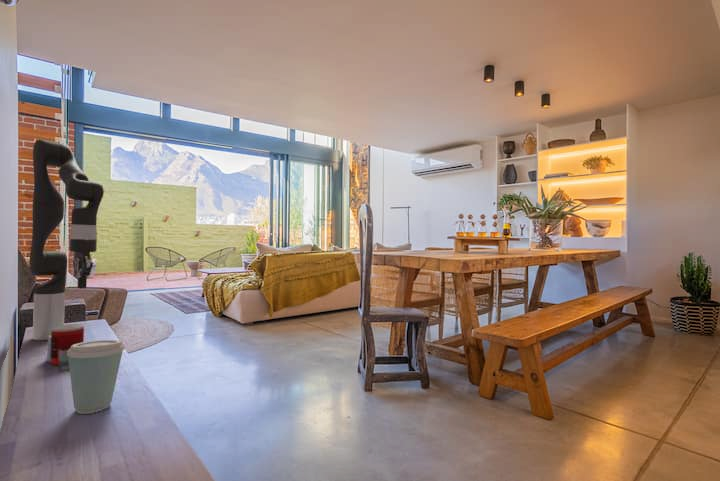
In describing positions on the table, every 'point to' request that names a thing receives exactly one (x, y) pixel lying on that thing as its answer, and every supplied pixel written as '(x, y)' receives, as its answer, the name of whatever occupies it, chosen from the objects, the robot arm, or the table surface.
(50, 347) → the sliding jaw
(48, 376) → the table surface
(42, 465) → the table surface
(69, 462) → the table surface
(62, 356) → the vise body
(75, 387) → the disposable coffee cup
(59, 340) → the canned food
